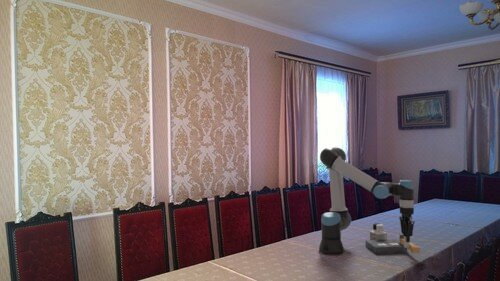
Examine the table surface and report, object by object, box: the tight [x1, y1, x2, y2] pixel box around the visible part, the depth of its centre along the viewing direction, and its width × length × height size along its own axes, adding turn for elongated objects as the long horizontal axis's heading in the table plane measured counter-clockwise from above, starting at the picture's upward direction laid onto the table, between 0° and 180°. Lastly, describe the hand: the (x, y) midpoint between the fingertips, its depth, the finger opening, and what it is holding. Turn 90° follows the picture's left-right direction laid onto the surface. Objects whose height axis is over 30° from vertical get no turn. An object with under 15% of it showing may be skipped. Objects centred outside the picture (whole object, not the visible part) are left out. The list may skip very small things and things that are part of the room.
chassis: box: [365, 238, 408, 255], centre depth 217 cm, size 21×15×4 cm
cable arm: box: [399, 233, 421, 254], centre depth 206 cm, size 21×4×5 cm, turn 178°
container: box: [369, 222, 388, 240], centre depth 231 cm, size 8×8×13 cm
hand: (406, 247), depth 201 cm, fingers closed
